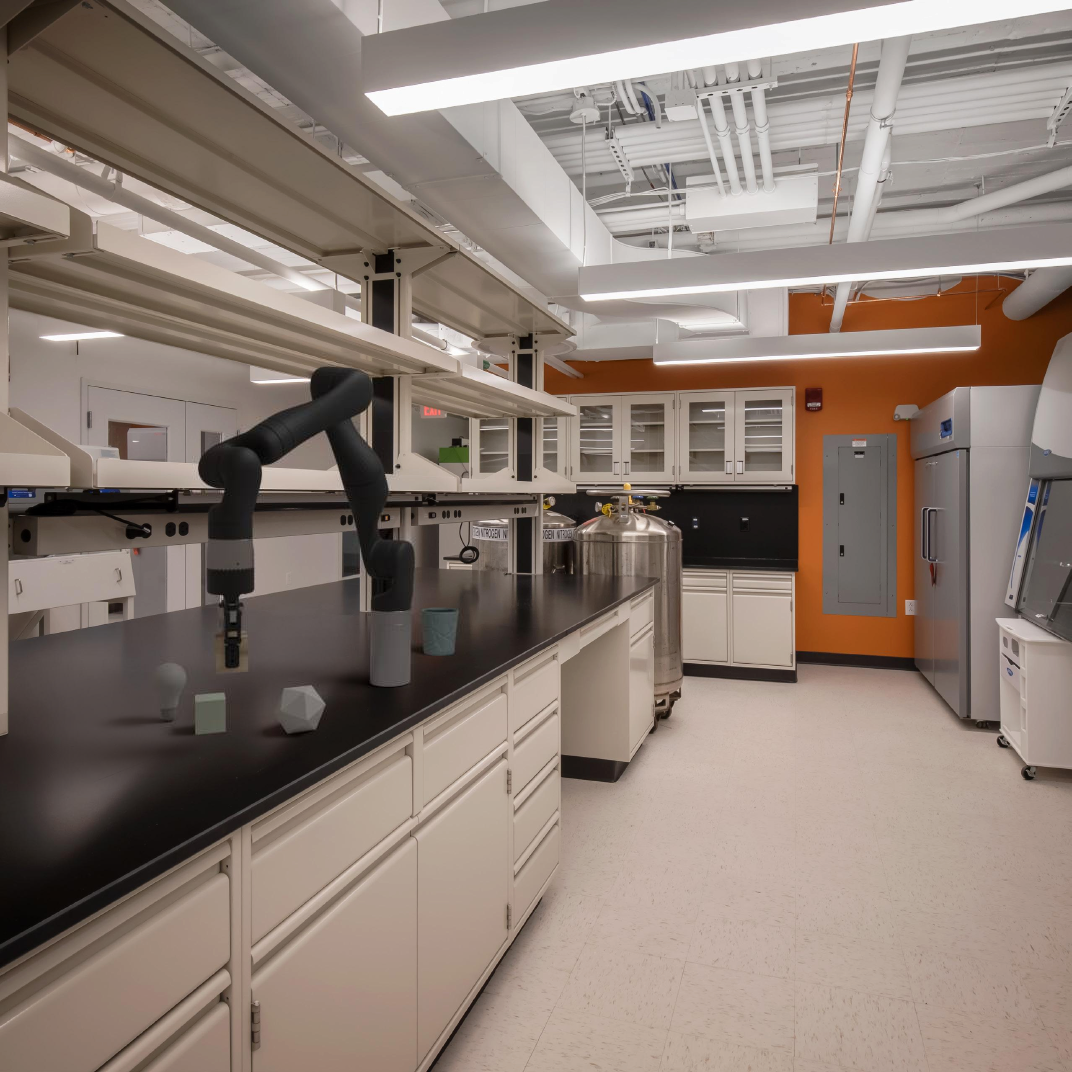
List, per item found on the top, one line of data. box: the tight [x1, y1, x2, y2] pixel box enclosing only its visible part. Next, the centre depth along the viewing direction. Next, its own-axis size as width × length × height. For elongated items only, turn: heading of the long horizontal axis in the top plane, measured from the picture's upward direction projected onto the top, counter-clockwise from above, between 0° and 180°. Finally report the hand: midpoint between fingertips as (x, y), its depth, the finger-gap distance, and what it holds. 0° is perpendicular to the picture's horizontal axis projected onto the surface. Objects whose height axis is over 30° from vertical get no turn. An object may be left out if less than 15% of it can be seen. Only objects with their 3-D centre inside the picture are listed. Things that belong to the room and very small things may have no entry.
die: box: [273, 684, 326, 734], centre depth 137 cm, size 8×9×10 cm
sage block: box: [194, 692, 227, 736], centre depth 136 cm, size 5×5×6 cm
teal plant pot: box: [421, 607, 459, 657], centre depth 207 cm, size 10×10×12 cm
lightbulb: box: [149, 662, 187, 722], centre depth 140 cm, size 6×6×11 cm
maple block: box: [214, 630, 249, 675], centre depth 127 cm, size 5×5×6 cm
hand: (231, 663), depth 127 cm, fingers closed on maple block, 5 cm apart
